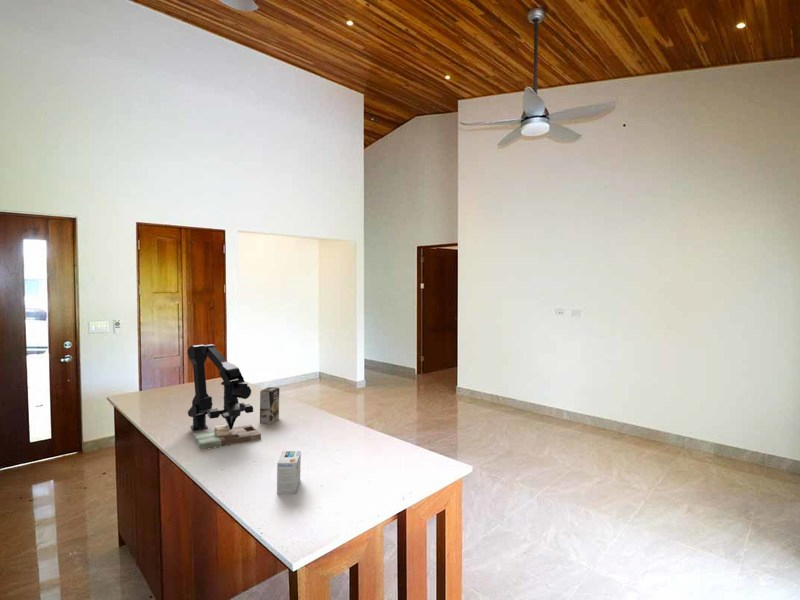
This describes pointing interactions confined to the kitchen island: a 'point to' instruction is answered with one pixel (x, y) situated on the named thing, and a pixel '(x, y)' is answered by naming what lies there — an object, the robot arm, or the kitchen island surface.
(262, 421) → the coffee box
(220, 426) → the block
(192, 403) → the robot arm
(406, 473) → the kitchen island surface
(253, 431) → the board
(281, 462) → the light bulb box
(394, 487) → the kitchen island surface
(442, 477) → the kitchen island surface
